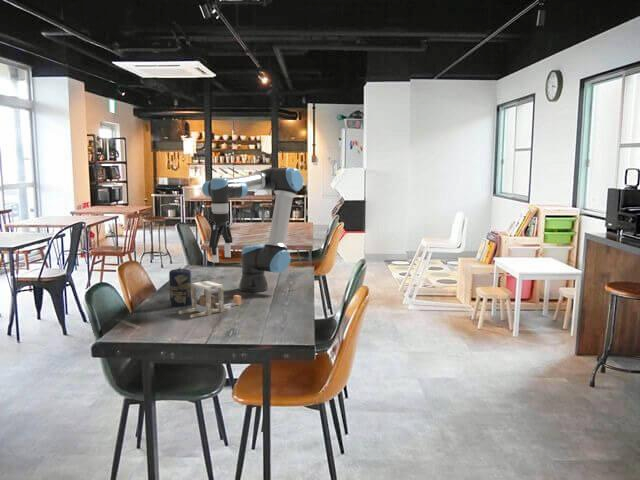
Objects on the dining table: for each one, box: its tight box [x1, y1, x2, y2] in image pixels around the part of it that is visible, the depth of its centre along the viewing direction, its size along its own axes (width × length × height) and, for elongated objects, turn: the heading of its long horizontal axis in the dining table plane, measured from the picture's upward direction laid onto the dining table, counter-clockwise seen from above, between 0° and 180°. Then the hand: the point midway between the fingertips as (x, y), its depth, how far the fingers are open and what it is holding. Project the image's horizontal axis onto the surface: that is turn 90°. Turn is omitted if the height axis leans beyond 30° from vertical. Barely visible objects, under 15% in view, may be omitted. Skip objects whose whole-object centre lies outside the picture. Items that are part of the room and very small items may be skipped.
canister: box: [168, 267, 192, 308], centre depth 259 cm, size 10×10×18 cm
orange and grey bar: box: [195, 294, 242, 313], centre depth 253 cm, size 21×7×4 cm, turn 136°
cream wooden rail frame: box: [178, 280, 232, 319], centre depth 249 cm, size 26×12×13 cm, turn 136°
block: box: [199, 294, 216, 309], centre depth 248 cm, size 4×5×6 cm
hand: (221, 259), depth 257 cm, fingers open, 13 cm apart
